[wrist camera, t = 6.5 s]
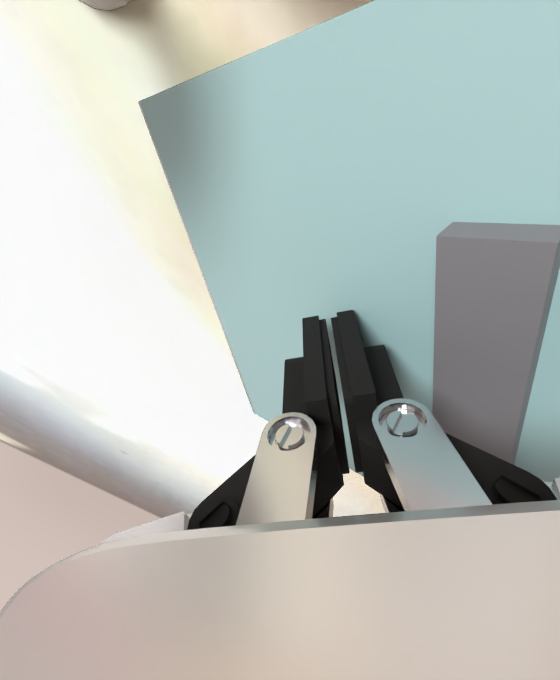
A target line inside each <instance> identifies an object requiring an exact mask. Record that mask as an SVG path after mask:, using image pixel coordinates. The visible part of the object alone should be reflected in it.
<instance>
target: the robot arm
mask: <svg viewBox="0 0 560 680" xmlns="http://www.w3.org/2000/svg"><path fill="white" fill-rule="evenodd" d="M336 313H337V317H332V318H331V323H332V329H333V335H334V342H335V348H336V354H337V361H338V367H339V373H340V379H341V386H342V392H343V398H344V404H345V411H346V417H347V423H348V429H349V435H350V441H351V447H352V453H353V460H354V466H355V472H363V475H364V480H365V483H366V484H367V485H368V486H370V487H371V488H373V489H374V490H375V491H377V492H378V493H380V497H381V501H382V504H383V507H384V509H385V512H386V513H379V514H366V515H354V516H342V517H333V506H334V505H333V496H334V495H335V494H336V493H337V492H338V491H339V490H340V488H341V487H342V486H343V485H344V482H343V474H346V473H349V465H348V458H347V451H346V444H345V437H344V430H343V423H342V416H341V409H340V402H339V395H338V388H337V382H336V376H335V370H334V365H333V359H332V353H331V347H330V341H329V336H328V330H327V324H326V319H320V320H319V316H312V317H306V318H302V327H303V357H298V358H291V359H286V360H285V364H284V386H283V407H282V414H281V415H279V416H277V417H275V418H274V419H272V420H271V421H270V422H269V423H268V424H267V425H266V426H265V428H264V430H263V432H262V435H261V439H260V442H259V446H258V449H257V453H256V455H255V456H253V457H252V458H251V459H250V460H249V461H248V462H247V463H246V464H244V465H243V466H242V467H241V468H240V469H239V470H238V471H236V472H235V473H234V474H233V475H232V476H231V477H230V478H228V479H227V480H226V481H225V482H224V483H223V484H222V485H220V486H219V487H218V488H217V489H216V490H215V491H214V492H213V493H211V494H210V495H209V496H208V497H207V498H206V499H205V500H203V501H202V502H201V503H200V504H199V505H198V507H197V508H196V509H195V510H194V512H193V513H190V514H186V513H185V511H182V512H179V513H176V514H173V515H170V516H167V517H164V518H161V519H158V520H155V521H151V522H148V523H145V524H143V525H139V526H136V527H133V528H130V529H127V530H123V531H120V532H117V533H115V534H113V535H111V536H109V537H107V538H106V539H105V540H104V541H102V542H101V543H100V544H99V545H97V546H94V547H91V548H88V549H85V550H83V551H80V552H78V553H75V554H73V555H71V556H69V557H67V558H65V559H63V560H61V561H59V562H57V563H55V564H53V565H52V566H50V567H48V568H47V569H45V570H43V571H42V572H40V573H39V574H37V575H36V576H34V577H33V578H31V579H30V580H29V581H28V582H26V583H25V584H24V585H23V586H22V587H21V588H20V589H19V590H18V591H17V592H16V593H15V594H14V595H13V596H12V597H11V598H10V600H9V601H8V602H7V603H6V605H5V606H4V607H3V609H2V610H1V611H0V680H560V478H554V479H553V482H545V481H542V480H541V479H540V478H538V477H536V476H535V475H533V474H531V473H530V472H528V471H526V470H523V469H521V468H519V467H517V466H515V465H513V464H511V463H509V462H506V461H504V460H502V459H500V458H498V457H496V456H494V455H492V454H489V453H487V452H485V451H483V450H481V449H479V448H477V447H475V446H472V445H470V444H468V443H466V442H464V441H462V440H460V439H458V438H455V437H453V436H451V435H449V434H447V433H445V432H444V431H443V430H442V428H441V427H440V425H439V424H438V422H437V421H436V419H435V418H434V416H433V415H432V413H431V412H430V411H429V410H428V409H427V408H426V406H424V405H422V404H421V403H419V402H417V401H413V400H410V399H404V397H403V395H402V392H401V389H400V386H399V384H398V381H397V378H396V375H395V372H394V370H393V367H392V364H391V361H390V359H389V356H388V353H387V350H386V348H385V346H384V345H377V346H370V347H364V348H363V344H362V341H361V337H360V333H359V330H358V326H357V322H356V319H355V315H354V311H353V310H348V311H342V312H336Z"/></svg>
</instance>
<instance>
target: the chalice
mask: <svg viewBox="0 0 560 680" xmlns="http://www.w3.org/2000/svg"><path fill="white" fill-rule="evenodd" d="M80 1H82V2H83V3H85V4H87V5H89V6H91V7H93V8H96V9H103V10H113V9H116V8H120V7H123V6H125V5H126V4H127V3H128V2H129V1H130V0H80Z"/></svg>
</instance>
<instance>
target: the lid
mask: <svg viewBox="0 0 560 680" xmlns="http://www.w3.org/2000/svg"><path fill="white" fill-rule="evenodd" d="M138 103H139V106H140V108H141V111H142V114H143V116H144V119H145V122H146V124H147V127H148V130H149V132H150V135H151V138H152V140H153V143H154V146H155V149H156V151H157V154H158V157H159V159H160V162H161V165H162V167H163V170H164V173H165V175H166V178H167V181H168V183H169V186H170V189H171V192H172V194H173V197H174V200H175V202H176V205H177V208H178V210H179V213H180V216H181V218H182V221H183V224H184V226H185V229H186V232H187V235H188V237H189V240H190V243H191V245H192V248H193V251H194V253H195V256H196V259H197V261H198V264H199V267H200V269H201V272H202V275H203V278H204V280H205V283H206V286H207V288H208V291H209V294H210V296H211V299H212V302H213V304H214V307H215V310H216V312H217V315H218V318H219V320H220V323H221V326H222V329H223V331H224V334H225V337H226V339H227V342H228V345H229V347H230V350H231V353H232V355H233V358H234V361H235V363H236V366H237V369H238V372H239V374H240V377H241V380H242V382H243V385H244V388H245V390H246V393H247V396H248V398H249V401H250V404H251V406H252V409H253V412H254V413H255V414H257V415H259V416H260V417H262V418H264V419H265V420H267V421H269V422H270V421H271V420H272V419H274V418H275V417H277V416H279V415H281V414H282V407H283V386H284V364H285V360H286V359H291V358H298V357H303V327H302V318H306V317H312V316H319V320H320V319H326V324H327V330H328V336H329V341H330V347H331V353H332V359H333V365H334V370H335V376H336V382H337V388H338V395H339V402H340V409H341V416H342V423H343V430H344V437H345V444H346V451H347V458H348V465H349V468H350V469H352V470H353V471H355V466H354V460H353V453H352V447H351V441H350V435H349V429H348V423H347V417H346V411H345V404H344V398H343V392H342V386H341V379H340V373H339V367H338V361H337V354H336V348H335V342H334V335H333V329H332V323H331V318H332V317H337V313H336V312H342V311H348V310H353V311H354V315H355V319H356V322H357V326H358V330H359V333H360V337H361V341H362V344H363V348H364V347H370V346H377V345H384V346H385V348H386V350H387V353H388V356H389V359H390V361H391V364H392V367H393V370H394V372H395V375H396V378H397V381H398V384H399V386H400V389H401V392H402V395H403V397H404V399H410V400H413V401H417V402H419V403H421V404H422V405H424V406H426V408H427V409H428V410H429V411H430V412H431V413H432V415H433V416H434V418H435V419H436V421H437V422H438V424H439V425H440V427H441V428H442V430H443V431H444V432H445V433H447V434H449V435H451V436H453V437H455V438H458V439H460V440H462V441H464V442H466V443H468V444H470V445H472V446H475V447H477V448H479V449H481V450H483V451H485V452H487V453H489V454H492V455H494V456H496V457H498V458H500V459H502V460H504V461H506V462H509V463H511V464H513V465H515V466H517V467H519V468H521V469H523V470H526V471H528V472H530V473H531V474H533V475H535V476H536V477H538V478H540V479H541V480H542V481H545V482H553V479H554V478H559V477H560V0H375V1H372V2H370V3H368V4H365V5H363V6H361V7H358V8H356V9H354V10H351V11H349V12H347V13H344V14H342V15H339V16H337V17H335V18H332V19H330V20H328V21H325V22H323V23H321V24H318V25H316V26H314V27H311V28H309V29H307V30H304V31H302V32H300V33H297V34H295V35H293V36H290V37H288V38H286V39H283V40H281V41H279V42H276V43H274V44H272V45H269V46H267V47H265V48H262V49H260V50H258V51H255V52H253V53H251V54H248V55H246V56H244V57H241V58H239V59H237V60H234V61H232V62H230V63H227V64H225V65H223V66H220V67H218V68H216V69H213V70H211V71H209V72H206V73H204V74H202V75H199V76H197V77H195V78H192V79H190V80H188V81H185V82H183V83H181V84H178V85H176V86H174V87H171V88H169V89H167V90H164V91H162V92H160V93H157V94H155V95H153V96H150V97H148V98H146V99H143V100H141V101H139V102H138ZM357 473H359V474H360V475H362V476H364V475H363V472H357Z"/></svg>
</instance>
